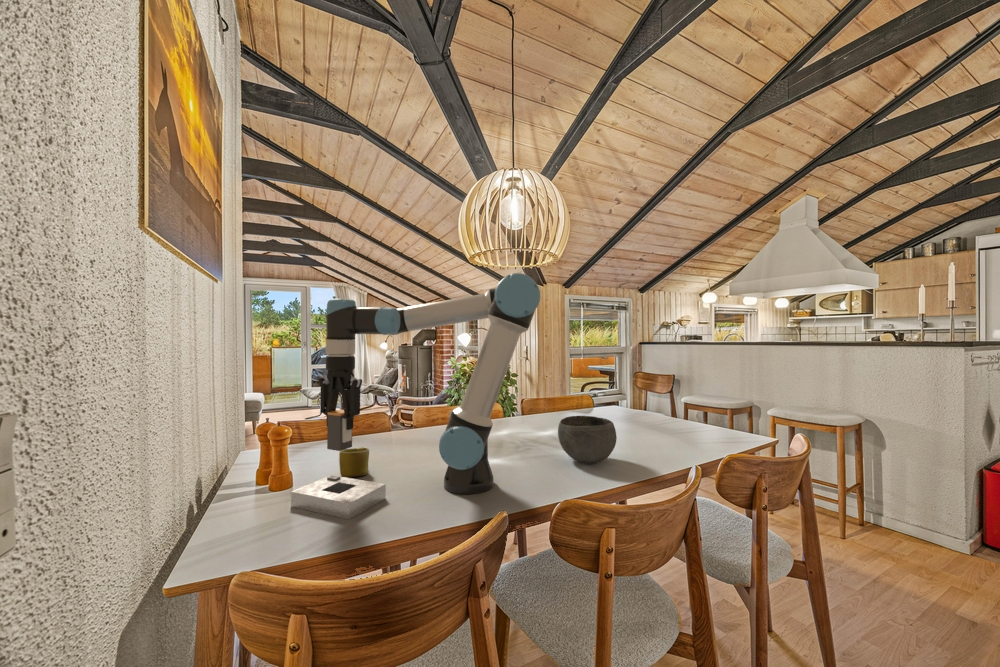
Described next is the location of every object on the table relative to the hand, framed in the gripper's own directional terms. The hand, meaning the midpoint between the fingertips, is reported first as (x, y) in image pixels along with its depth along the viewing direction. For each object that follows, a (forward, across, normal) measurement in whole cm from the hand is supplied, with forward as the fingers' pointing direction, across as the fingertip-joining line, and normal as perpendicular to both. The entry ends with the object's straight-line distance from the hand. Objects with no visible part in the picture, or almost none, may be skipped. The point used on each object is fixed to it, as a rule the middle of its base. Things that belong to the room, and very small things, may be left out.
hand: (339, 440), depth 111 cm
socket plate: (+17, 0, 0) cm, 17 cm away
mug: (+17, +13, -21) cm, 30 cm away
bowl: (+16, -56, -62) cm, 85 cm away
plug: (+2, 0, 0) cm, 2 cm away
